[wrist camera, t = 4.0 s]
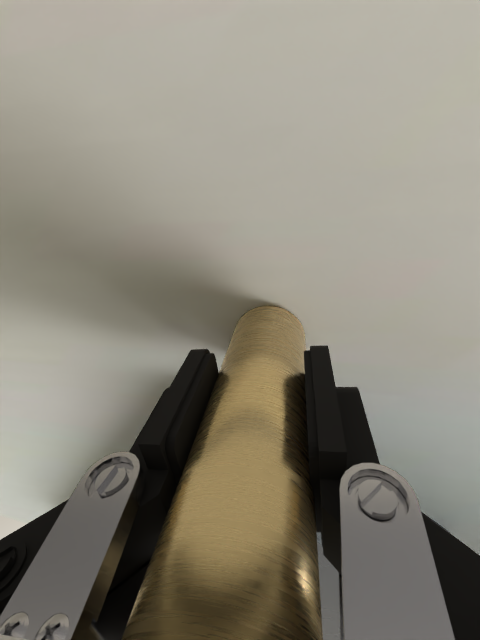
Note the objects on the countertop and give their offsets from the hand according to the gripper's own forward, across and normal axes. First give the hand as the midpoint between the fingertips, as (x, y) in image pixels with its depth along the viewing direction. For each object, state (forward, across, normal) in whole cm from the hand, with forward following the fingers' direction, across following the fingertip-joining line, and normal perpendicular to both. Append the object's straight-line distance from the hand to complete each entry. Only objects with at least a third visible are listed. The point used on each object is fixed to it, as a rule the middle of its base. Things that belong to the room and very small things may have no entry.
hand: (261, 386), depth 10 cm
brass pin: (+3, 0, 0) cm, 3 cm away
